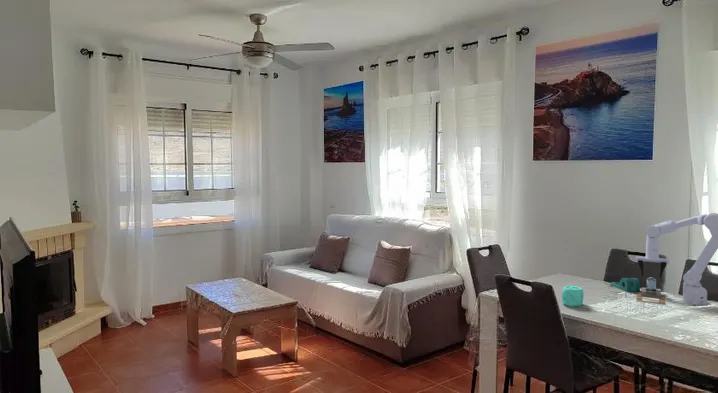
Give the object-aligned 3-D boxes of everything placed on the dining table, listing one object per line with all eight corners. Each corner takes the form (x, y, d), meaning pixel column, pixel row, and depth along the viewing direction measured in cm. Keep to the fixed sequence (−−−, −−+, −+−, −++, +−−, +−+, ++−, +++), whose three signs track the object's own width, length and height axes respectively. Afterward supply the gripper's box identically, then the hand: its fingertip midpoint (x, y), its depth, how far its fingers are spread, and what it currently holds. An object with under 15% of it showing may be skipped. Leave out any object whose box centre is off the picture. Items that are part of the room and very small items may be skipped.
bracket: (639, 294, 261) (640, 279, 260) (627, 294, 260) (627, 279, 260) (619, 286, 279) (620, 272, 278) (607, 286, 278) (608, 272, 278)
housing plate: (637, 293, 262) (637, 286, 262) (664, 296, 256) (664, 289, 256) (636, 303, 243) (636, 296, 243) (665, 306, 237) (665, 299, 237)
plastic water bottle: (657, 295, 253) (658, 278, 253) (650, 296, 252) (651, 278, 252) (651, 293, 257) (651, 276, 256) (644, 294, 256) (645, 276, 255)
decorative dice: (579, 307, 237) (580, 290, 236) (561, 304, 241) (562, 288, 241) (583, 303, 243) (583, 287, 243) (565, 301, 248) (566, 284, 247)
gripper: (669, 249, 253) (668, 276, 254) (636, 247, 260) (635, 273, 261) (669, 251, 247) (668, 279, 248) (635, 249, 254) (634, 276, 255)
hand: (651, 276), depth 254 cm, fingers open, 7 cm apart
